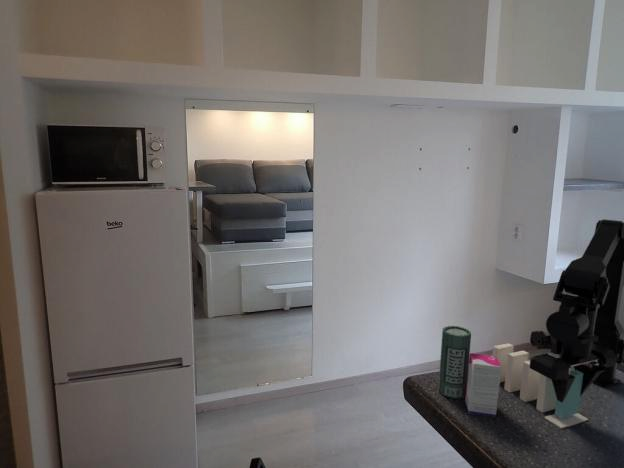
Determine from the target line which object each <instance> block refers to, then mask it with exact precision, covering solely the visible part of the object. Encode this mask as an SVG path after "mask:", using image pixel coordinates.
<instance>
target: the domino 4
mask: <svg viewBox="0 0 624 468" xmlns="http://www.w3.org/2000/svg"><path fill="white" fill-rule="evenodd" d="M556 400H557V397H556V394H555V390H554V386H553V383H552V380H551V379H549V378H547V377H546V376H544V375H542V374H540V380H539V389H538V398H537V399H536V407H535V409H536V410H538V411H539V412H541V413H545V412H549V411H553V410H555V409H556Z"/></svg>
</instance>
